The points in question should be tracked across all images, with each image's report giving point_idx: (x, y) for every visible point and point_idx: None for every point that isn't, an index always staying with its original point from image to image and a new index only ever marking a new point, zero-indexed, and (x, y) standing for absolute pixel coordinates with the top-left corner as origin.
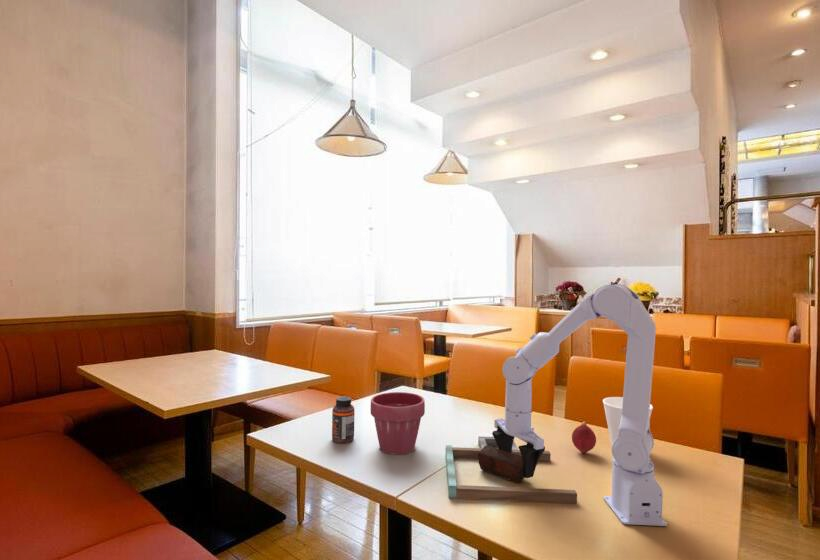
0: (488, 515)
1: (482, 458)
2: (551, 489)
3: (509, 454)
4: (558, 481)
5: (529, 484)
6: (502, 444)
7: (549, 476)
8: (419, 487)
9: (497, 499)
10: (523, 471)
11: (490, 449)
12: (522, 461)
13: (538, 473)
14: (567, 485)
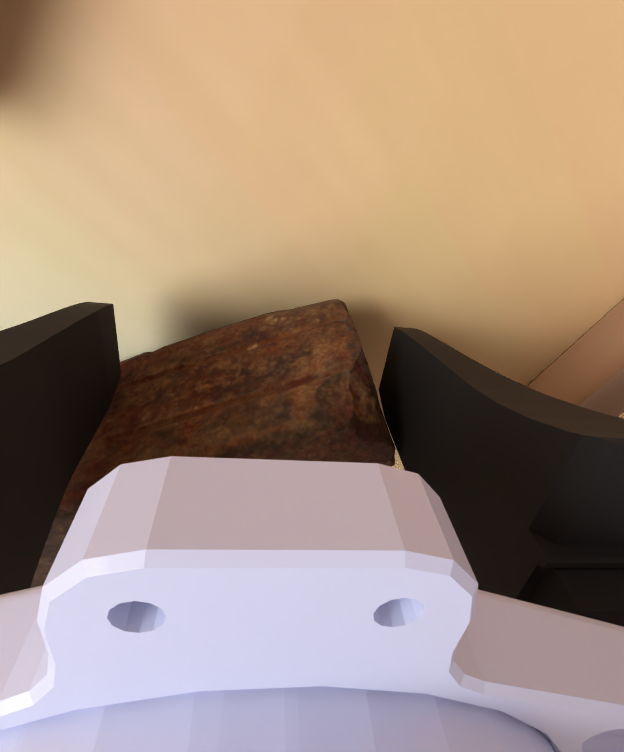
0: None
1: None
2: (618, 379)
3: None
4: (510, 62)
5: (384, 323)
6: (40, 507)
7: (401, 49)
8: None
9: None
10: (392, 426)
11: (43, 552)
12: (374, 453)
13: (300, 99)
14: (602, 55)
